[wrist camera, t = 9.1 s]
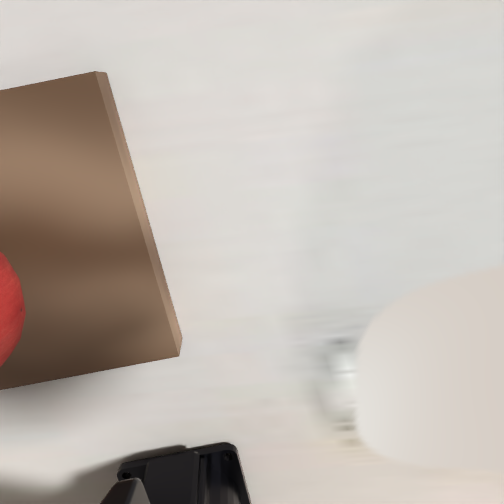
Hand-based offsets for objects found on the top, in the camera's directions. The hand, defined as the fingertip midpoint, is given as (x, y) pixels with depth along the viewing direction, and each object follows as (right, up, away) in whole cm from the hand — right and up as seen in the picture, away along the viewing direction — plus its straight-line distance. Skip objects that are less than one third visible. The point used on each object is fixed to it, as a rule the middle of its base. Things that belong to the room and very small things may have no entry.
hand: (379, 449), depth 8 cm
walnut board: (-14, +4, +11) cm, 18 cm away
